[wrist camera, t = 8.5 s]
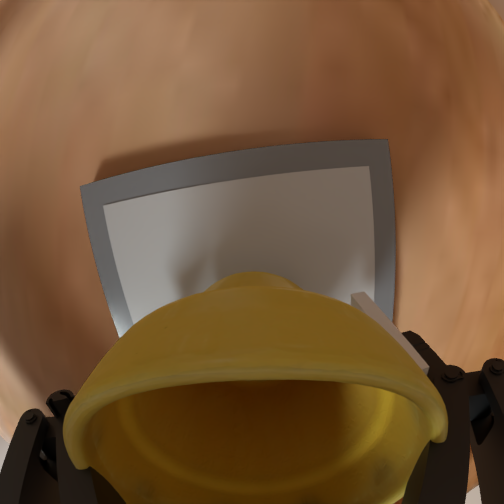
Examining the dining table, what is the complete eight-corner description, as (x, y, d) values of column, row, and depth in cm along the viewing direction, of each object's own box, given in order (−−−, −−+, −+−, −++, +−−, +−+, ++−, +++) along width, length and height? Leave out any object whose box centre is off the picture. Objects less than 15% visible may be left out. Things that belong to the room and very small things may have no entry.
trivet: (160, 406, 20) (155, 419, 19) (92, 184, 16) (79, 186, 14) (376, 380, 20) (382, 392, 18) (376, 141, 15) (388, 139, 14)
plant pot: (166, 209, 13) (8, 288, 3) (375, 253, 13) (518, 363, 4) (152, 380, 15) (100, 515, 6) (315, 406, 16) (347, 538, 6)
